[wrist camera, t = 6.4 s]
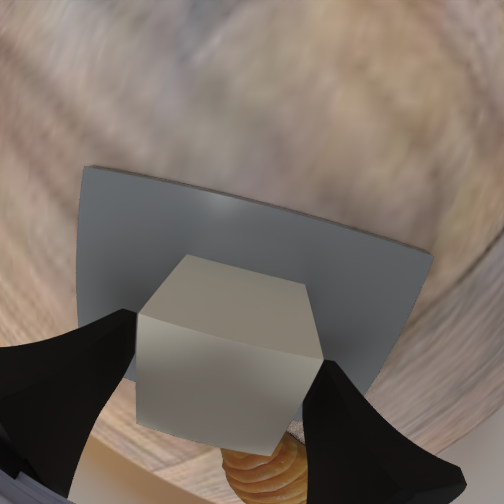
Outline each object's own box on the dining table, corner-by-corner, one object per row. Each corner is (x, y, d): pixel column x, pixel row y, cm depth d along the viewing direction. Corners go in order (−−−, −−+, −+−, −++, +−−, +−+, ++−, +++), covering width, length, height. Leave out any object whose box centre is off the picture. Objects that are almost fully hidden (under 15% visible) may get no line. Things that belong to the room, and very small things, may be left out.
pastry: (198, 429, 17) (187, 473, 13) (295, 408, 16) (299, 458, 12) (253, 485, 19) (251, 520, 16) (330, 470, 18) (335, 507, 14)
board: (426, 251, 12) (434, 256, 11) (341, 416, 15) (343, 425, 15) (93, 165, 12) (83, 166, 11) (87, 353, 15) (82, 360, 14)
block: (305, 284, 12) (323, 359, 7) (271, 373, 14) (270, 456, 9) (186, 253, 12) (138, 313, 7) (171, 348, 13) (136, 423, 9)
